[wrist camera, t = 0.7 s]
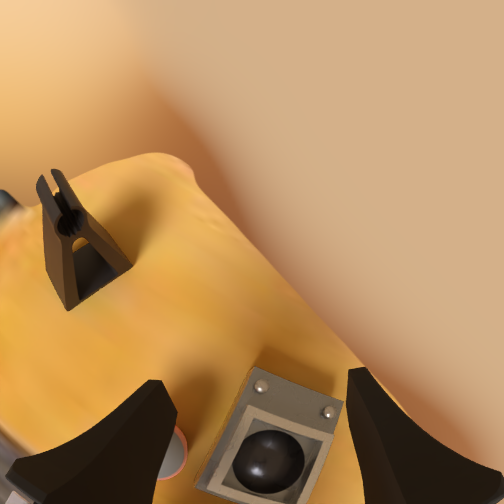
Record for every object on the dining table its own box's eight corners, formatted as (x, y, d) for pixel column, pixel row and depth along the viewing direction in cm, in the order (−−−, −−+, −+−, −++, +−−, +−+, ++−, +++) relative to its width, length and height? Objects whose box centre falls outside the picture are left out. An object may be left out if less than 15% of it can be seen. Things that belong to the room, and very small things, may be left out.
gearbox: (285, 509, 17) (303, 522, 13) (193, 480, 17) (195, 491, 14) (328, 405, 24) (352, 399, 20) (247, 372, 25) (259, 362, 21)
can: (174, 475, 17) (170, 492, 12) (127, 449, 18) (106, 457, 12) (195, 435, 20) (199, 439, 15) (149, 410, 20) (136, 405, 15)
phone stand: (107, 233, 30) (89, 150, 21) (133, 267, 28) (116, 182, 19) (47, 272, 25) (5, 196, 16) (67, 312, 23) (16, 241, 14)
